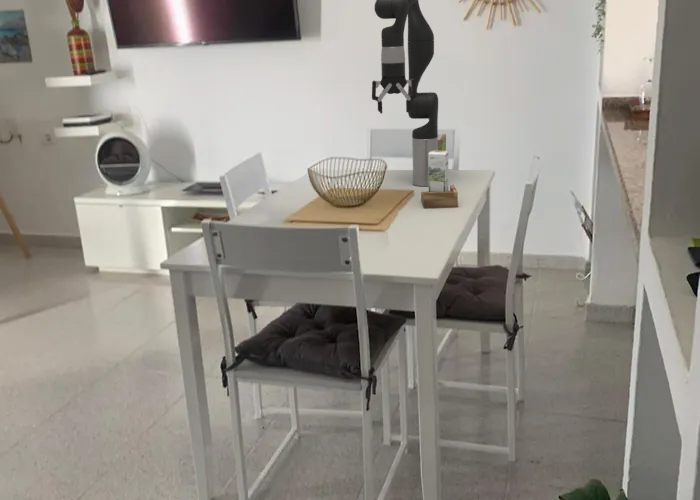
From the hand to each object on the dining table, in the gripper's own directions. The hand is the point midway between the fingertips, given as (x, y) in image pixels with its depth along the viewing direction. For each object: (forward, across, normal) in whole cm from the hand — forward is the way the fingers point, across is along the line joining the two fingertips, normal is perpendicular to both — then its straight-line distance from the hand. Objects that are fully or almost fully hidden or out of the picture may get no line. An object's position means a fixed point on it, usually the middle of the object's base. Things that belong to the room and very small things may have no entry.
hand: (394, 112), depth 242 cm
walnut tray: (+30, -14, +4) cm, 33 cm away
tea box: (+30, -16, -45) cm, 57 cm away
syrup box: (+27, -14, +4) cm, 31 cm away
